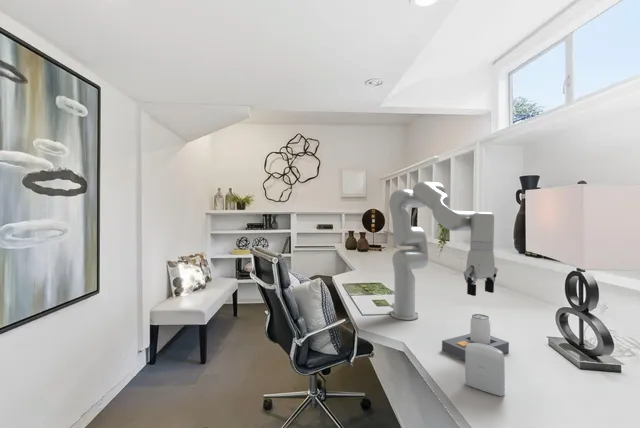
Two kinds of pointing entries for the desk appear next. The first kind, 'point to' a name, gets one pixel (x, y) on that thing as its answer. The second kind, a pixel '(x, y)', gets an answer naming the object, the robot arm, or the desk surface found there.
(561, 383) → the desk surface
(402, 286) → the robot arm
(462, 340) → the grey socket block
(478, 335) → the can
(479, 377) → the photo printer
